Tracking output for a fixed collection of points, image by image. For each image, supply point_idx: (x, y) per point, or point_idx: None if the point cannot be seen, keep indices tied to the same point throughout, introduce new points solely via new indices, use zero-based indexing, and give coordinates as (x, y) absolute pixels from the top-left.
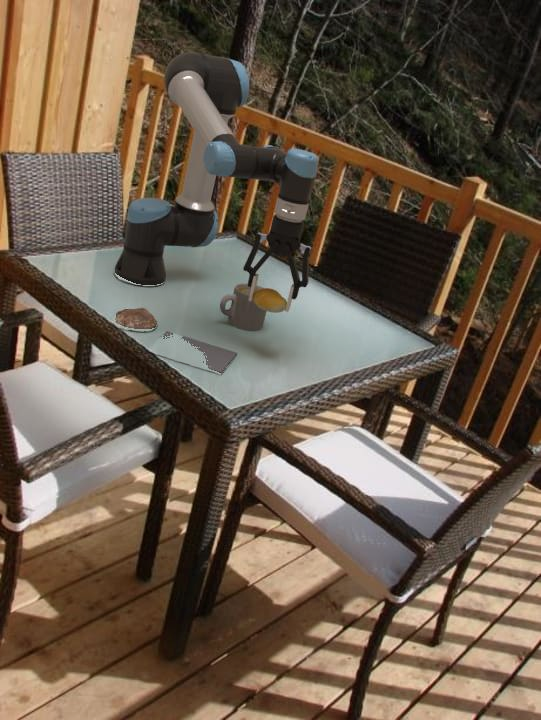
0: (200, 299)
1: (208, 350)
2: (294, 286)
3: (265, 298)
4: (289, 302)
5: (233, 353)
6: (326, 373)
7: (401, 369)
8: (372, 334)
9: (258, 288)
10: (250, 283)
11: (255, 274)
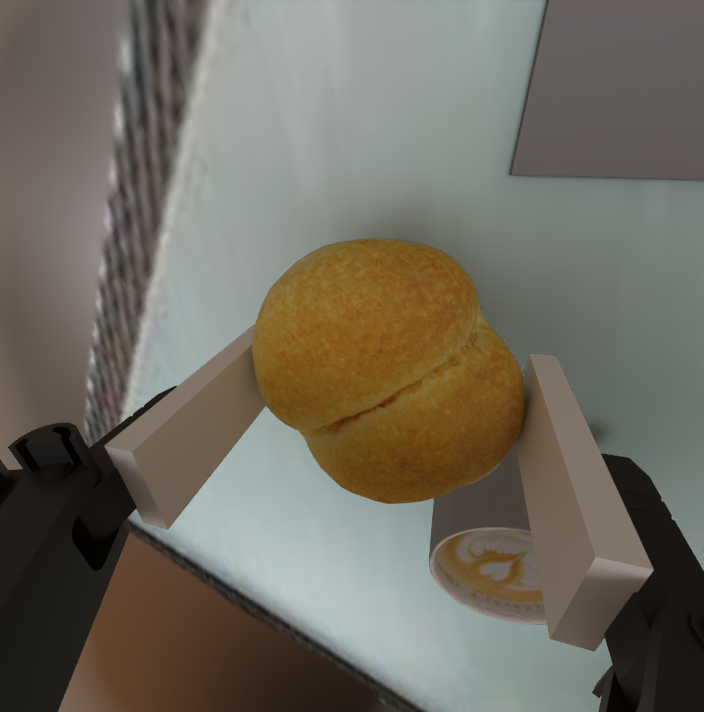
0: None
1: (684, 85)
2: (75, 449)
3: (401, 305)
4: (217, 357)
5: (530, 149)
6: (189, 243)
7: (87, 379)
8: (200, 509)
9: (484, 601)
10: (621, 486)
11: (605, 629)
